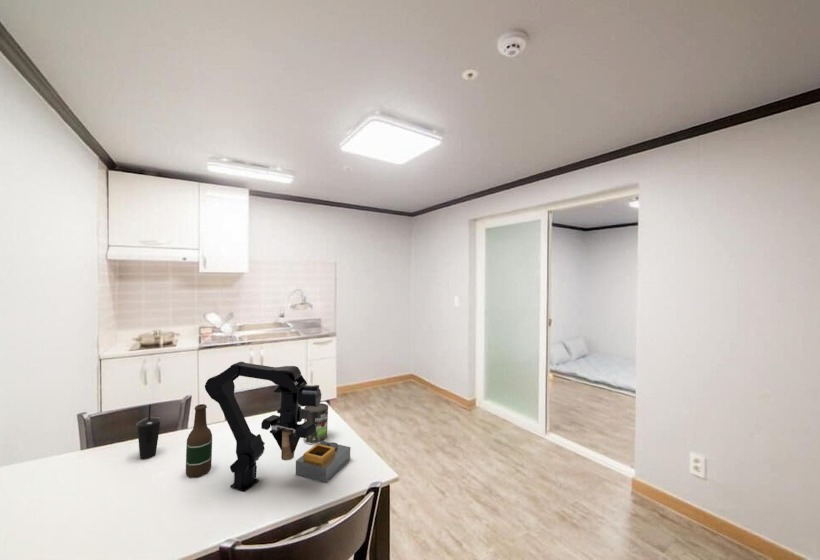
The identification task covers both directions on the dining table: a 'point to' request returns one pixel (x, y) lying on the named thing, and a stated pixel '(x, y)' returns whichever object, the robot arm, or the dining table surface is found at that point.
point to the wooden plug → (286, 445)
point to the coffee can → (317, 423)
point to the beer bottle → (199, 445)
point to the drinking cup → (148, 435)
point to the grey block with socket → (322, 461)
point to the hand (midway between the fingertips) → (287, 451)
